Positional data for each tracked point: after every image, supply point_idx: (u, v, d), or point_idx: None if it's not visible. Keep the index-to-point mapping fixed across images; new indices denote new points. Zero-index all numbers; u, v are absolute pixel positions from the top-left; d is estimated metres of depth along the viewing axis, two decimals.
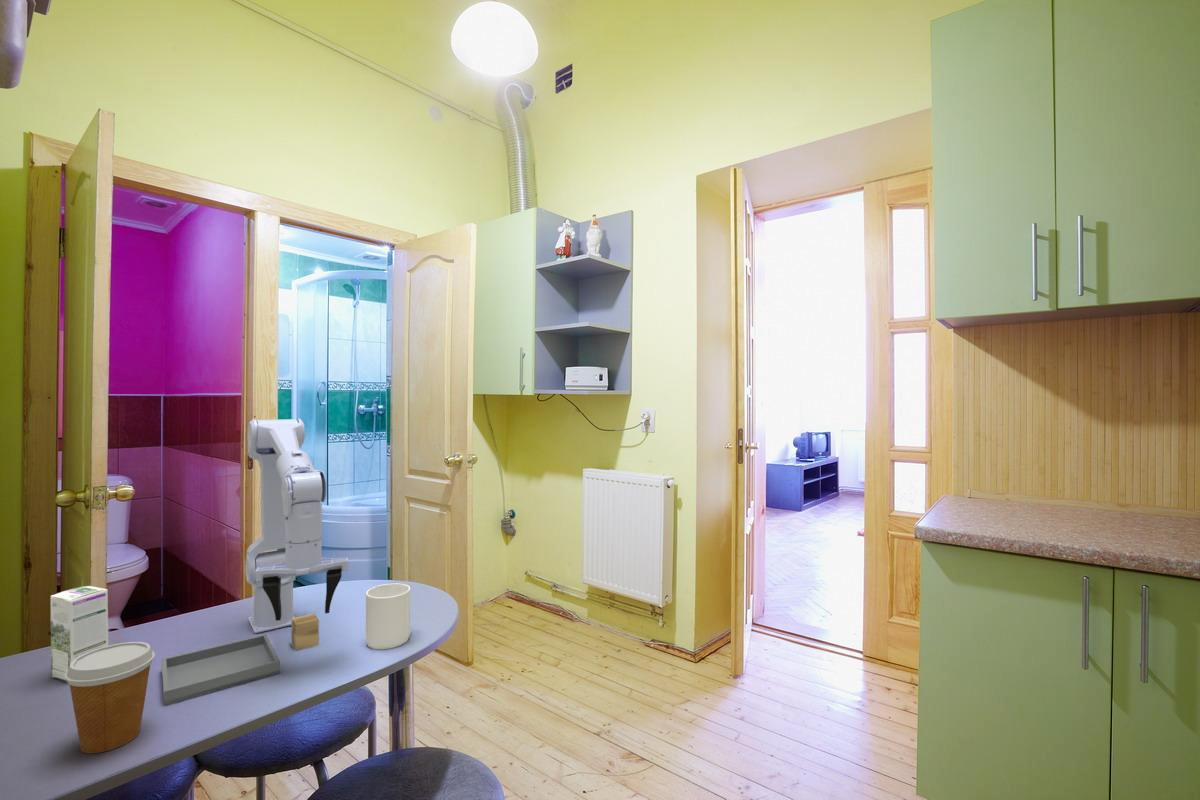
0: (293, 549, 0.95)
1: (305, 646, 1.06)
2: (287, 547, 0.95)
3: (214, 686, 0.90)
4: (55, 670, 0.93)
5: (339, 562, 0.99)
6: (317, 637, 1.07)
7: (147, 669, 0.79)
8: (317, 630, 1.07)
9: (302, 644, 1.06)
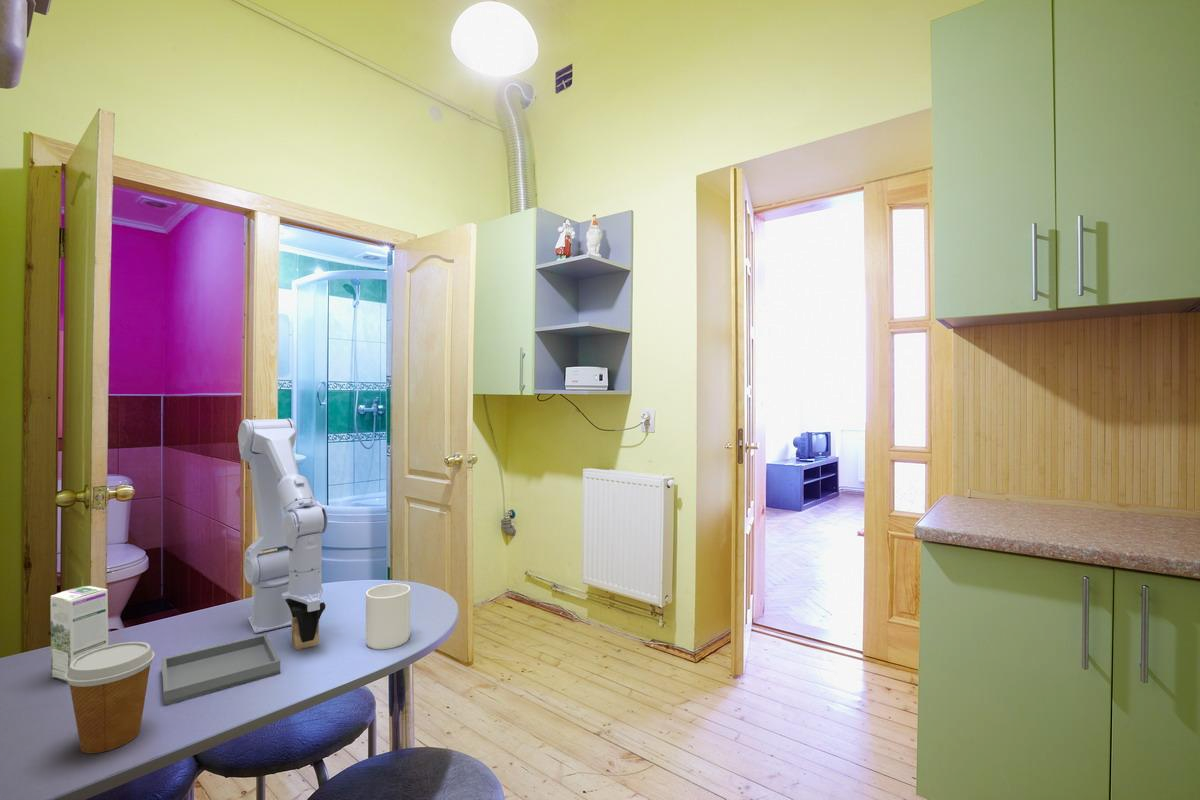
0: None
1: (305, 646, 1.06)
2: None
3: (214, 686, 0.90)
4: (55, 670, 0.93)
5: (305, 600, 1.02)
6: (317, 637, 1.07)
7: (147, 669, 0.79)
8: (317, 630, 1.07)
9: (302, 644, 1.06)
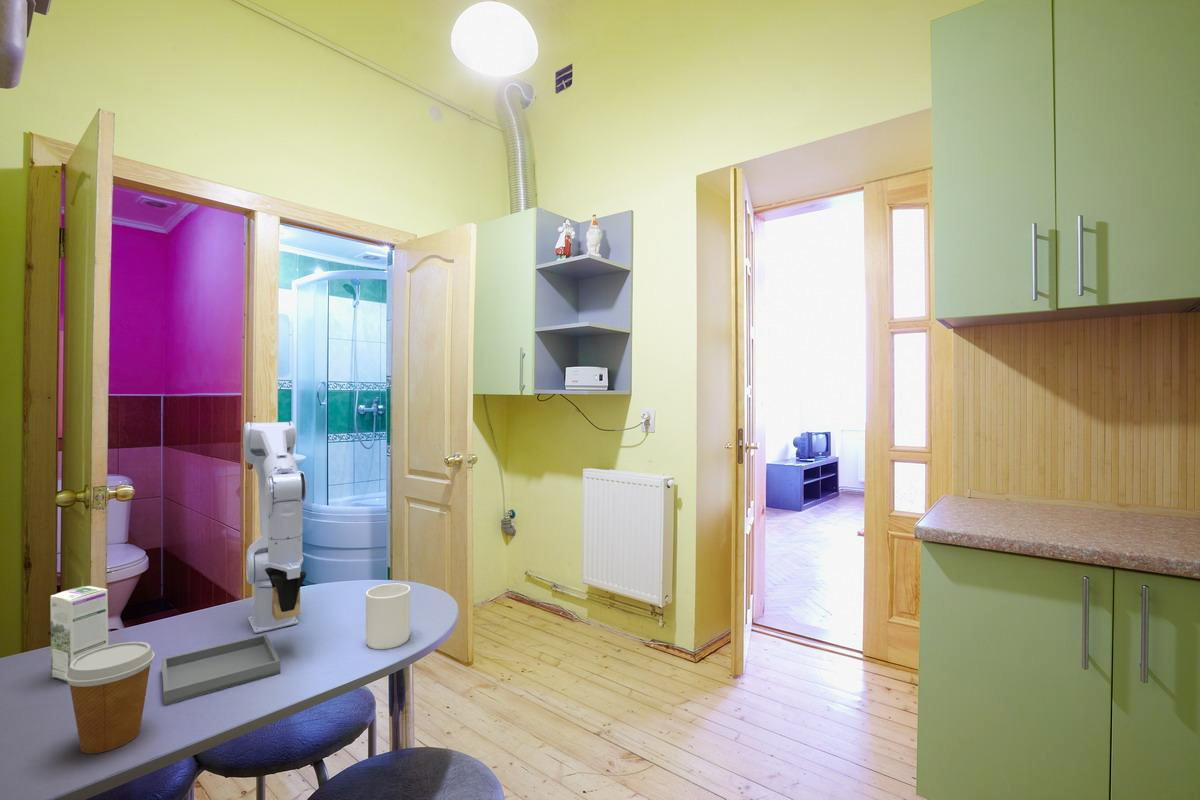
0: None
1: (286, 616, 1.03)
2: None
3: (214, 686, 0.90)
4: (55, 670, 0.93)
5: (285, 568, 0.99)
6: (298, 607, 1.04)
7: (147, 669, 0.79)
8: (298, 600, 1.04)
9: (283, 614, 1.03)
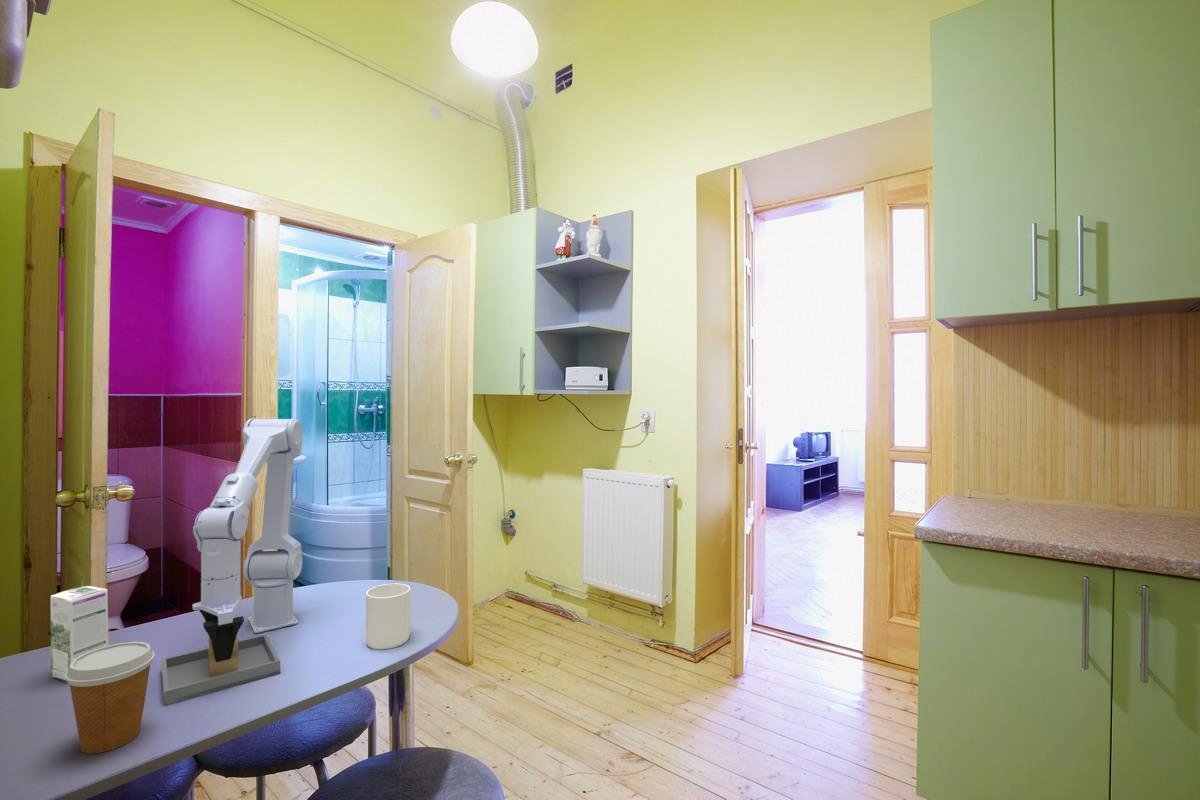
0: None
1: (222, 671, 0.95)
2: None
3: (214, 686, 0.90)
4: (55, 670, 0.93)
5: (216, 612, 0.91)
6: (236, 660, 0.96)
7: (147, 669, 0.79)
8: (236, 653, 0.96)
9: (218, 669, 0.94)
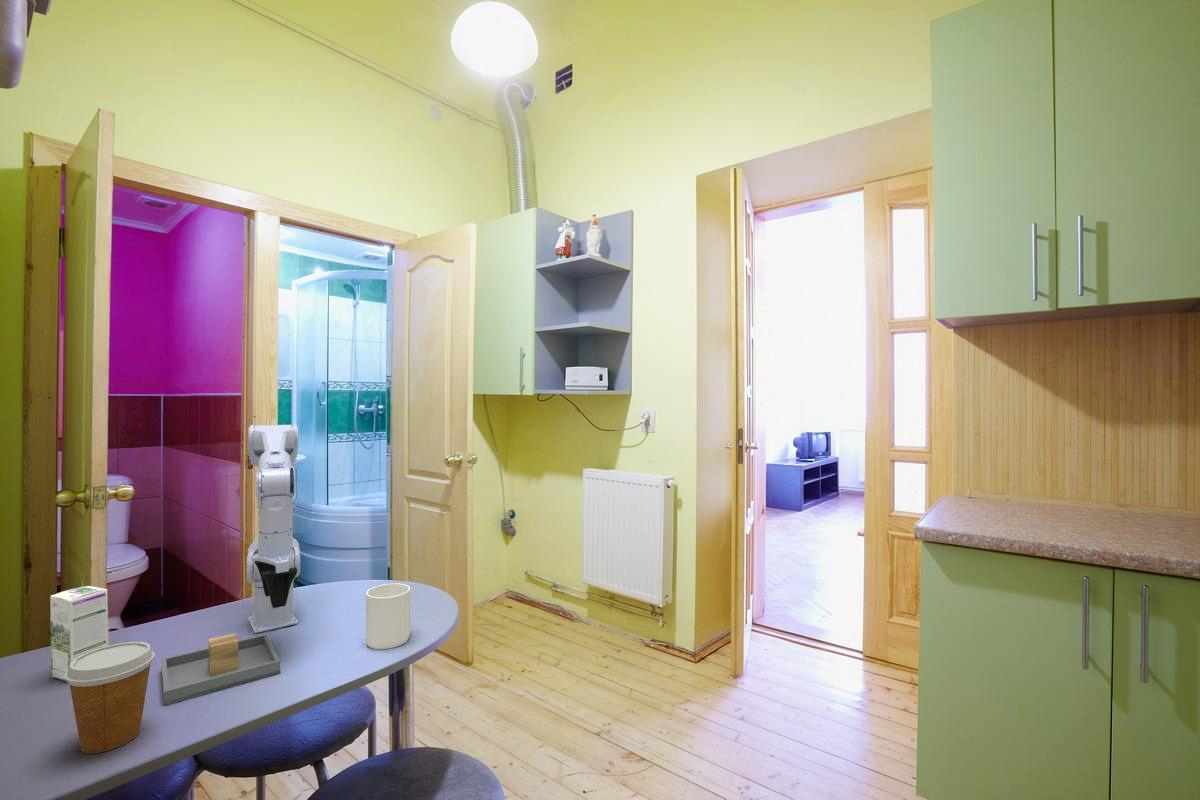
0: None
1: (222, 671, 0.95)
2: None
3: (214, 686, 0.90)
4: (55, 670, 0.93)
5: (274, 562, 1.00)
6: (236, 660, 0.96)
7: (147, 669, 0.79)
8: (236, 653, 0.96)
9: (218, 669, 0.94)
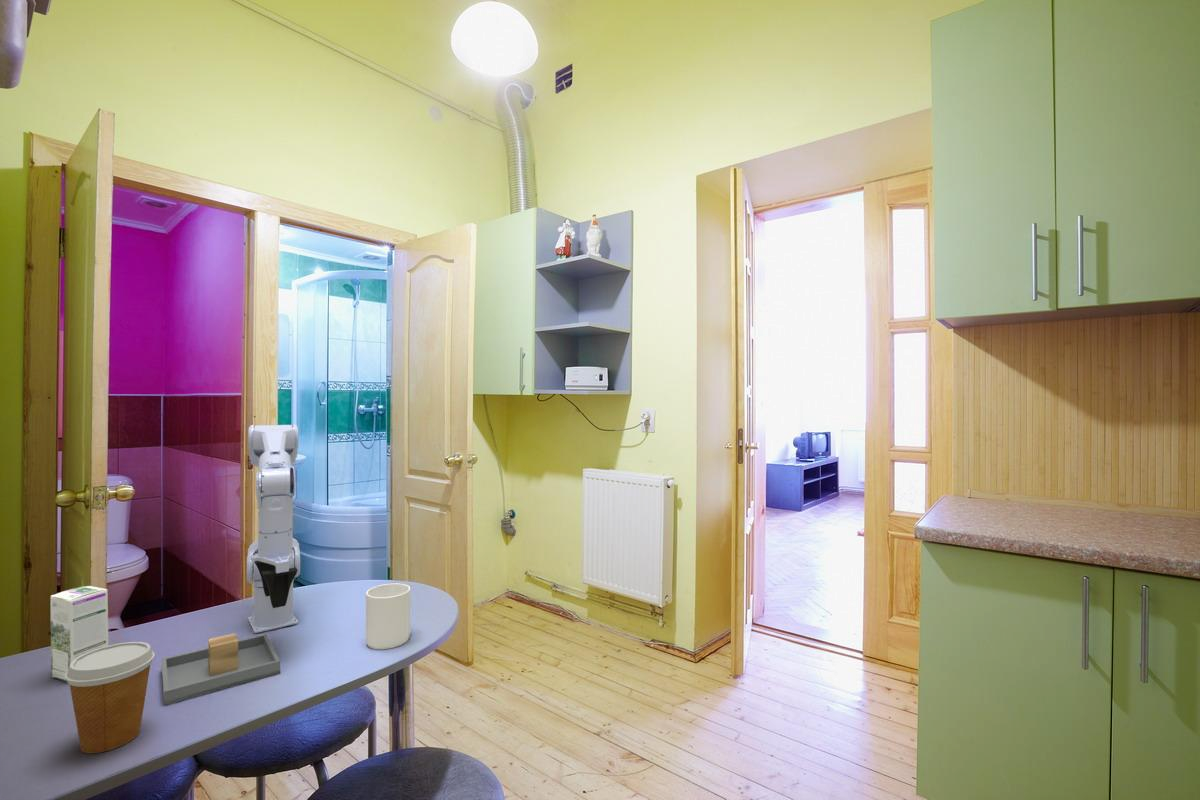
0: None
1: (222, 671, 0.95)
2: None
3: (214, 686, 0.90)
4: (55, 670, 0.93)
5: (274, 562, 1.00)
6: (236, 660, 0.96)
7: (147, 669, 0.79)
8: (236, 653, 0.96)
9: (218, 669, 0.94)
